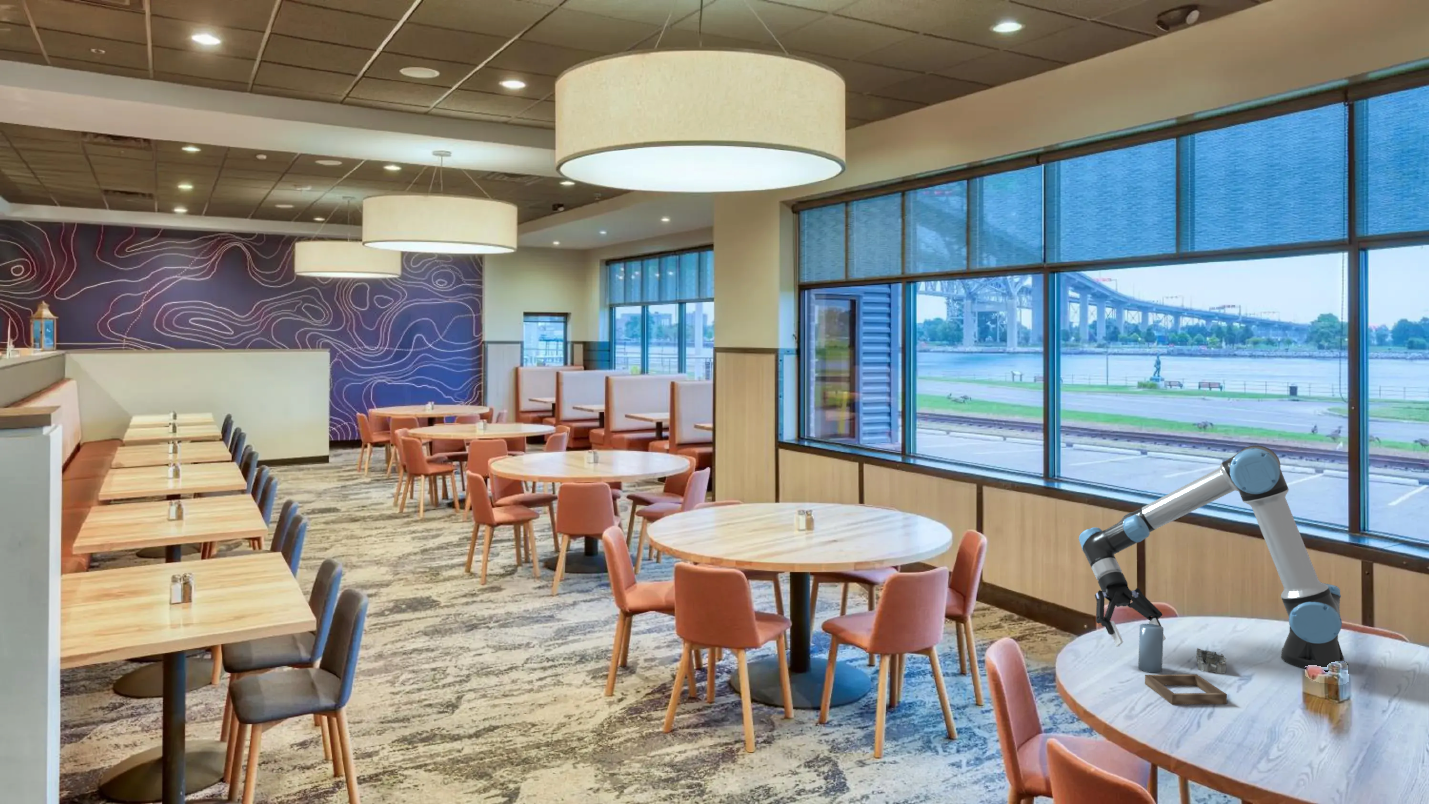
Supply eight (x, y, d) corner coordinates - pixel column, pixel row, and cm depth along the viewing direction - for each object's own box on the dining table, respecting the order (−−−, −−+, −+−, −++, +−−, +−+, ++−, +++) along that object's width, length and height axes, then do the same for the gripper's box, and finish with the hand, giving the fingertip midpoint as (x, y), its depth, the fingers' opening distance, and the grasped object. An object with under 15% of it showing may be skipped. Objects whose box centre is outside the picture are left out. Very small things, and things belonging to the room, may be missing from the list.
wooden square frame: (1196, 683, 250) (1196, 674, 250) (1226, 703, 236) (1226, 694, 236) (1144, 683, 249) (1145, 674, 249) (1172, 704, 235) (1172, 694, 235)
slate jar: (1155, 665, 264) (1156, 623, 263) (1166, 672, 258) (1167, 630, 257) (1134, 665, 264) (1135, 623, 263) (1144, 672, 258) (1146, 630, 257)
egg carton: (1226, 676, 256) (1226, 661, 256) (1195, 671, 260) (1196, 657, 259) (1225, 664, 266) (1226, 649, 265) (1196, 659, 269) (1196, 645, 269)
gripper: (1140, 581, 282) (1172, 645, 269) (1066, 585, 277) (1095, 651, 264) (1153, 568, 277) (1186, 633, 263) (1077, 572, 272) (1108, 639, 258)
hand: (1141, 642), depth 264 cm, fingers open, 13 cm apart
